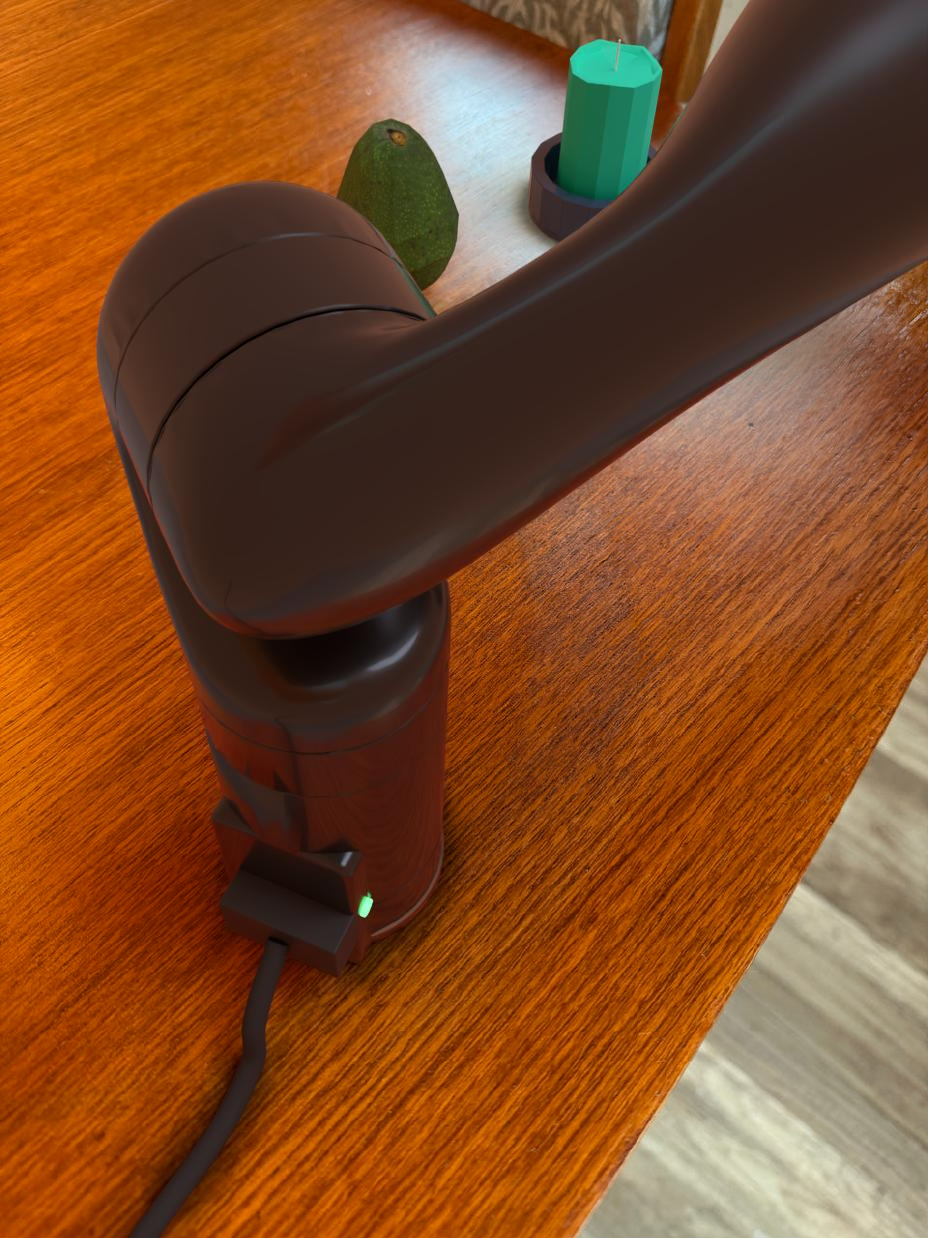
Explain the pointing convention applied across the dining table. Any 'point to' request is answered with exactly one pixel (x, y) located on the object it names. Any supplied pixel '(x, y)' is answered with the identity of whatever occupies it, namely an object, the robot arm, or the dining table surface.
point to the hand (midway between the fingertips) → (798, 9)
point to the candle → (607, 118)
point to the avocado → (403, 197)
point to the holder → (558, 195)
